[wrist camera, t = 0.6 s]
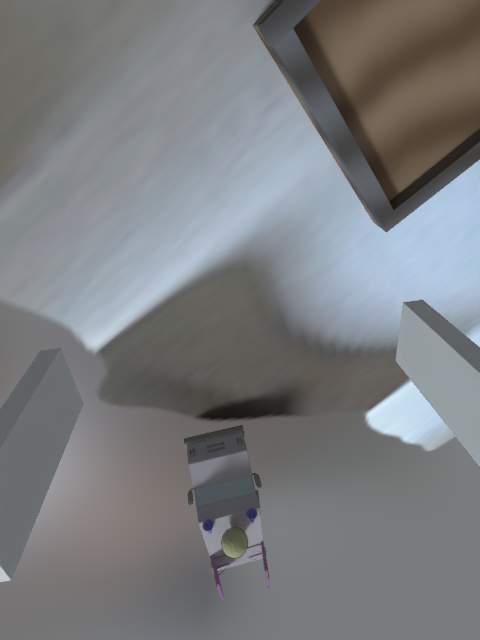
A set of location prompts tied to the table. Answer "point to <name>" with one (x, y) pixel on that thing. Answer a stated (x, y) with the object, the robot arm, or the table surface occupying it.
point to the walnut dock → (385, 90)
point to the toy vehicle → (226, 499)
